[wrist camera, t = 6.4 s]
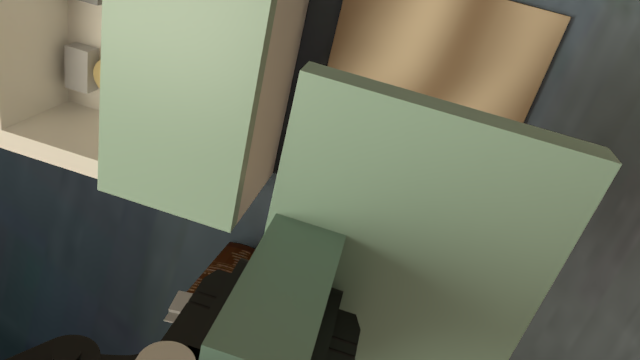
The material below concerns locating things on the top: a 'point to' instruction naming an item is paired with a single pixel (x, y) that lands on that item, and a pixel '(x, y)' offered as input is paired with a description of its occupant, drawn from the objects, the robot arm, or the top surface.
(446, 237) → the lid piece
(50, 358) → the robot arm
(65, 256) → the top surface
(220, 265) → the food container
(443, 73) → the cork mat
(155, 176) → the parts tub
